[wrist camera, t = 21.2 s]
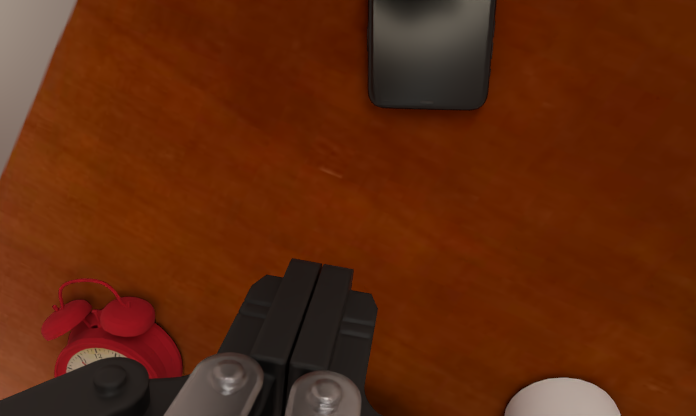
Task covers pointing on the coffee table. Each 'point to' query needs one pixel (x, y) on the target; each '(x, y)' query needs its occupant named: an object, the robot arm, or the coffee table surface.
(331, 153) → the coffee table surface
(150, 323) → the alarm clock
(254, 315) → the robot arm
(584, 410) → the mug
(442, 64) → the smartphone
